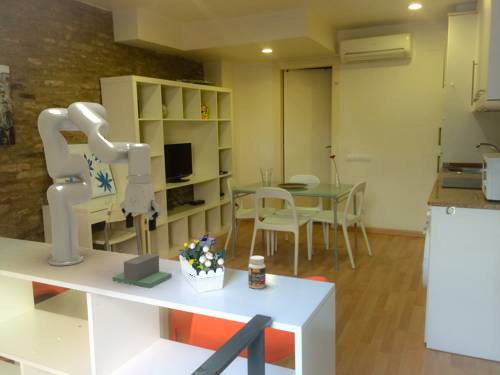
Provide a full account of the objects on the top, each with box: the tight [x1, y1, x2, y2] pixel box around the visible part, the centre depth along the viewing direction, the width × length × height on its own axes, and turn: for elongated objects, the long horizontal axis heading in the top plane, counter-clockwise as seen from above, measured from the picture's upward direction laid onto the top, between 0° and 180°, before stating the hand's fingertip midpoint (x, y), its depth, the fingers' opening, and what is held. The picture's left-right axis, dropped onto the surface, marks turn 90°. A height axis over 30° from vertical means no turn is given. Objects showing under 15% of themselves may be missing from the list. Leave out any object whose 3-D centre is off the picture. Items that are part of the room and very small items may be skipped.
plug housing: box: [123, 252, 160, 281], centre depth 154 cm, size 12×6×6 cm, turn 155°
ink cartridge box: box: [190, 233, 217, 252], centre depth 162 cm, size 10×6×14 cm, turn 155°
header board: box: [112, 270, 172, 289], centre depth 154 cm, size 16×12×5 cm
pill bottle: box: [247, 255, 267, 290], centre depth 147 cm, size 6×6×10 cm
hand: (140, 229), depth 153 cm, fingers open, 9 cm apart
